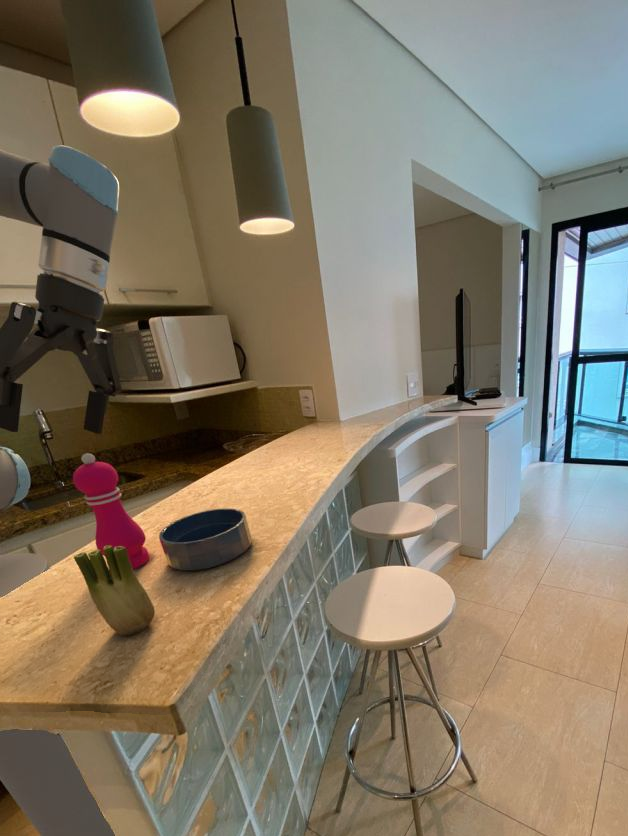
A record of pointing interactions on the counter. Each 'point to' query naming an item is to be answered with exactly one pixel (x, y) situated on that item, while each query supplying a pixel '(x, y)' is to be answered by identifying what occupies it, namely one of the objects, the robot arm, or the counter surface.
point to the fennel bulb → (116, 589)
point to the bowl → (205, 539)
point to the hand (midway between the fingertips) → (53, 430)
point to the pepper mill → (110, 510)
